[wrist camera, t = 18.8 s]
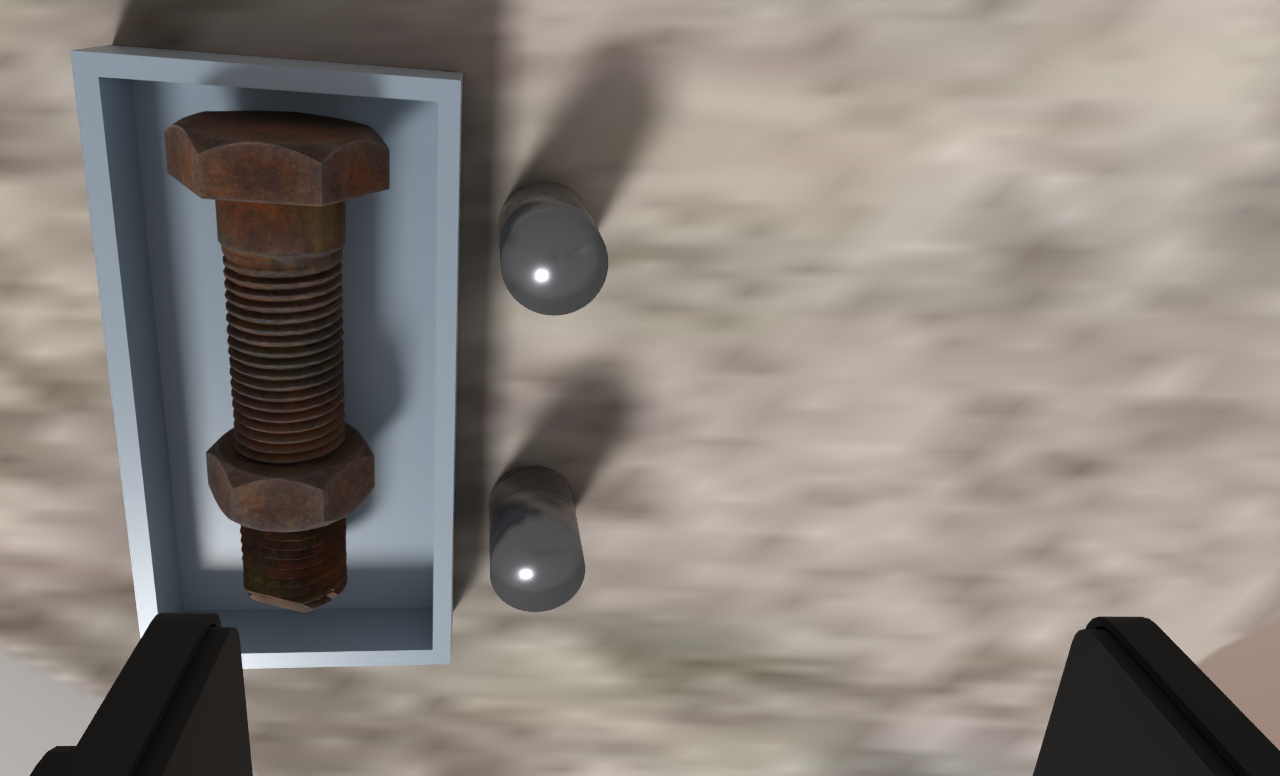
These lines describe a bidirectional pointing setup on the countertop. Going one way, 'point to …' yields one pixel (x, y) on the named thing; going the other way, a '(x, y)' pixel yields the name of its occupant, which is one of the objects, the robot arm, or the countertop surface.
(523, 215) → the peg
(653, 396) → the countertop surface
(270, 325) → the bolt
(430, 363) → the tray
